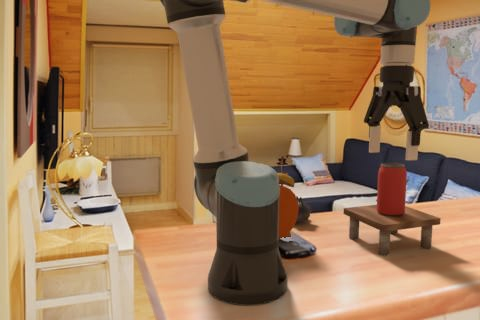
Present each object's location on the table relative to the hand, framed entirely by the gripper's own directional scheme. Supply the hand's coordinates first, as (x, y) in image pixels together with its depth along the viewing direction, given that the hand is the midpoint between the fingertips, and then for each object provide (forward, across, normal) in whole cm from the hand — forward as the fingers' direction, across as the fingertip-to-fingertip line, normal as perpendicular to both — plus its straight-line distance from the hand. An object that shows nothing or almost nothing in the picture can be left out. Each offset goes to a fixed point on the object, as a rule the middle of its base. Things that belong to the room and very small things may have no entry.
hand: (391, 156), depth 110 cm
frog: (+22, +25, +13) cm, 36 cm away
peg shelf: (+22, 0, -1) cm, 22 cm away
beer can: (+14, 0, 0) cm, 14 cm away
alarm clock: (+22, +11, +26) cm, 36 cm away
